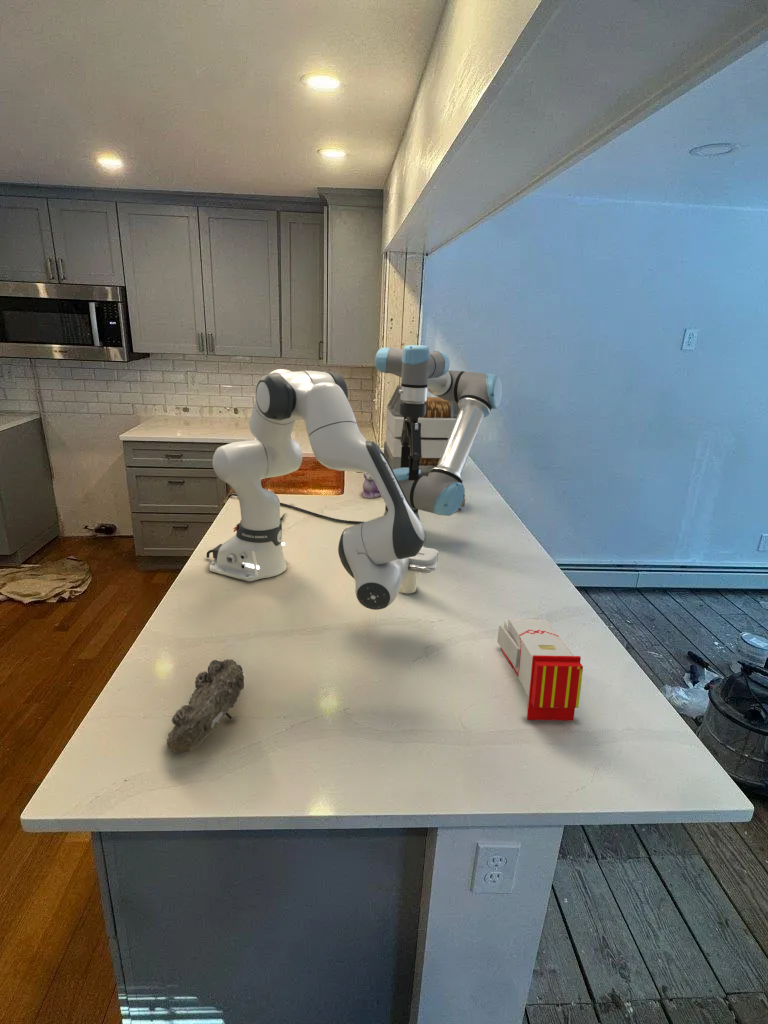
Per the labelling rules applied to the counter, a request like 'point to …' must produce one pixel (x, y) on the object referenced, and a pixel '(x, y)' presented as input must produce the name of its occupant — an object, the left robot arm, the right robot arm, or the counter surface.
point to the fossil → (206, 705)
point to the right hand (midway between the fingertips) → (408, 473)
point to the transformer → (432, 429)
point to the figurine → (369, 487)
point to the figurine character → (462, 503)
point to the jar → (409, 583)
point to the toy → (542, 668)
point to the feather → (281, 518)
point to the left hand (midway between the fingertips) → (401, 543)
